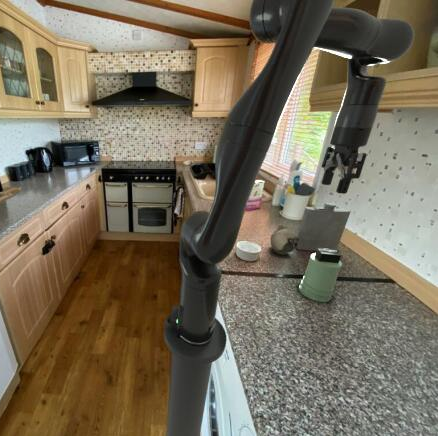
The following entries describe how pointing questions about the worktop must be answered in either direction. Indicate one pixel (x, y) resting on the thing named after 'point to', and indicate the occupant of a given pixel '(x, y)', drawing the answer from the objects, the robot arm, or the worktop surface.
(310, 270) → the cup stack
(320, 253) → the binder clip
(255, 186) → the candy bar box
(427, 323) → the worktop surface
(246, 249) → the ramekin
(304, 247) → the hip flask
